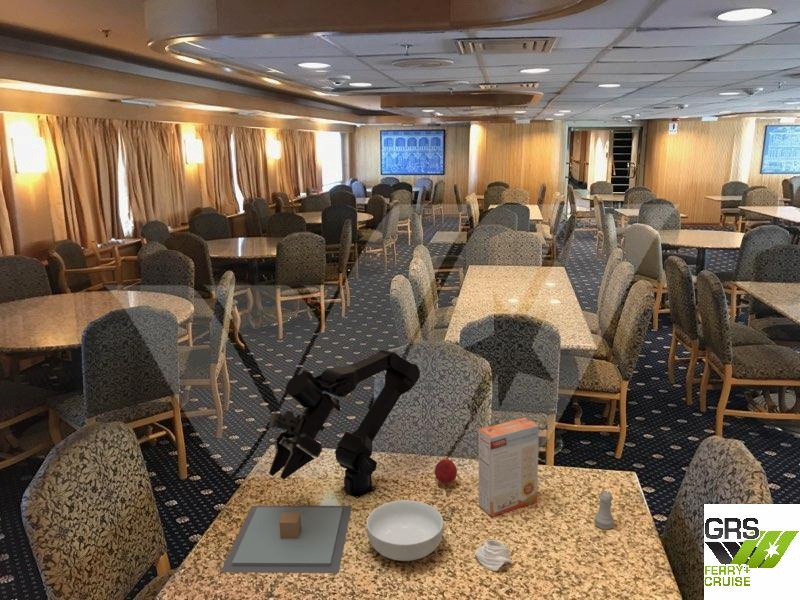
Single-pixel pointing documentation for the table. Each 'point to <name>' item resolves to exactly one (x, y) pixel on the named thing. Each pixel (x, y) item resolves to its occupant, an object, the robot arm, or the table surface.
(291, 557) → the lid
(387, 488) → the table surface
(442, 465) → the onion
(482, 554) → the whipped cream
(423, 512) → the cereal bowl
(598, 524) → the grey chess piece
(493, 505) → the cracker box
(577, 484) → the table surface
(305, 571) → the mat
